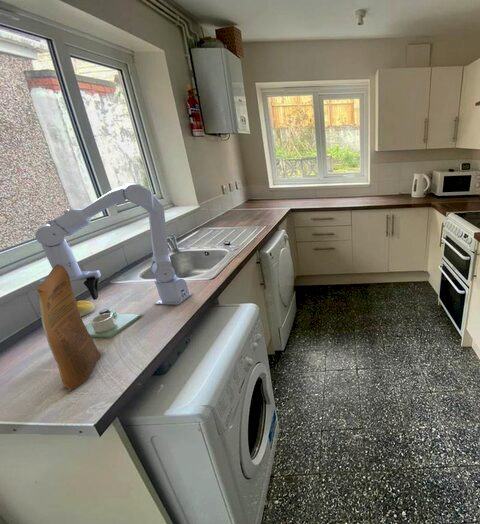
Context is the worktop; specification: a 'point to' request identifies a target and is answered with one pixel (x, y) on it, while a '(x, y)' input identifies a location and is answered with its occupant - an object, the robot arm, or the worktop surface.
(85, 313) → the bread roll
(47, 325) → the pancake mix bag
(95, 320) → the cup
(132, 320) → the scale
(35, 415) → the worktop surface
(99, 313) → the scale button
